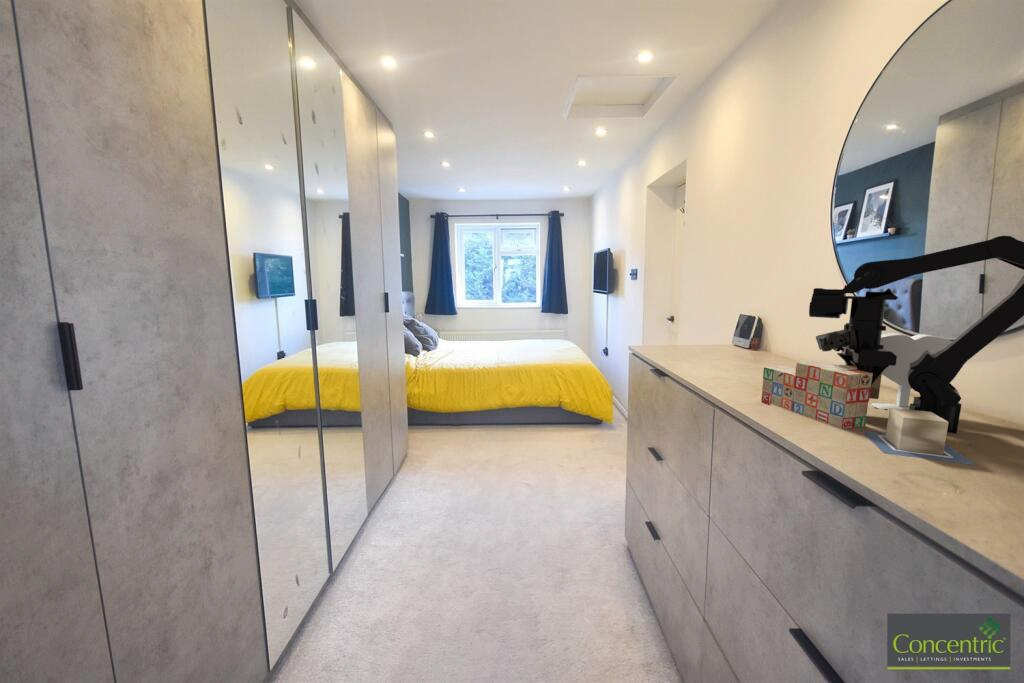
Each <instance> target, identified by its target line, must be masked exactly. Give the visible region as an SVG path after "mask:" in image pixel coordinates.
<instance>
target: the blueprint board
mask: <svg viewBox="0 0 1024 683" xmlns="http://www.w3.org/2000/svg"><path fill="white" fill-rule="evenodd" d="M860 432H861V433H862V434H863V435H865V437H866V438H868V439H869V440H870V441H871V442H872V443H873V444H874V446H876V447H877V448H878V449H879V450H880V451H881V452H882V453H883V454H886V455H887V454H888V455H895V456H903V457H910V458H919V459H924V460H926V459H927V460H934V461H941V462H946V463H947V462H948V463H955V464H962V465H963V464H964V465H970V466H977V464H976V463H974V462H973V461H971V460H970V459H968V458H967V457H966V456H965V455H963V454H962V453H960V452H958V451H957V450H955V449H954V448H953V447H951V446H949V445H948V444H946V443H945V447H944V454H943V455H938V454H930V453H922V452H915V451H907V450H899V449H898V448H897V447H895V446H894V445H893V444H892V443H891V442H890V441H888V440H887V439H886V432H885V433H884V432H874V431H867V430H860Z"/></svg>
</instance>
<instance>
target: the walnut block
mask: <svg viewBox="0 0 1024 683" xmlns="http://www.w3.org/2000/svg"><path fill="white" fill-rule="evenodd" d="M838 366H845V367H850V368H855V369H857V368H856V367H855V366H852V365H846V364H839V365H838ZM882 377H883V375H882V373H881V374H880V375H879V376H878V378H877V379H876V380H875V381H874V383H873V384H872V385H871V391H870V398H869V400H870V399H873V400H879V398H880V389H881V383H882Z"/></svg>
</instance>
